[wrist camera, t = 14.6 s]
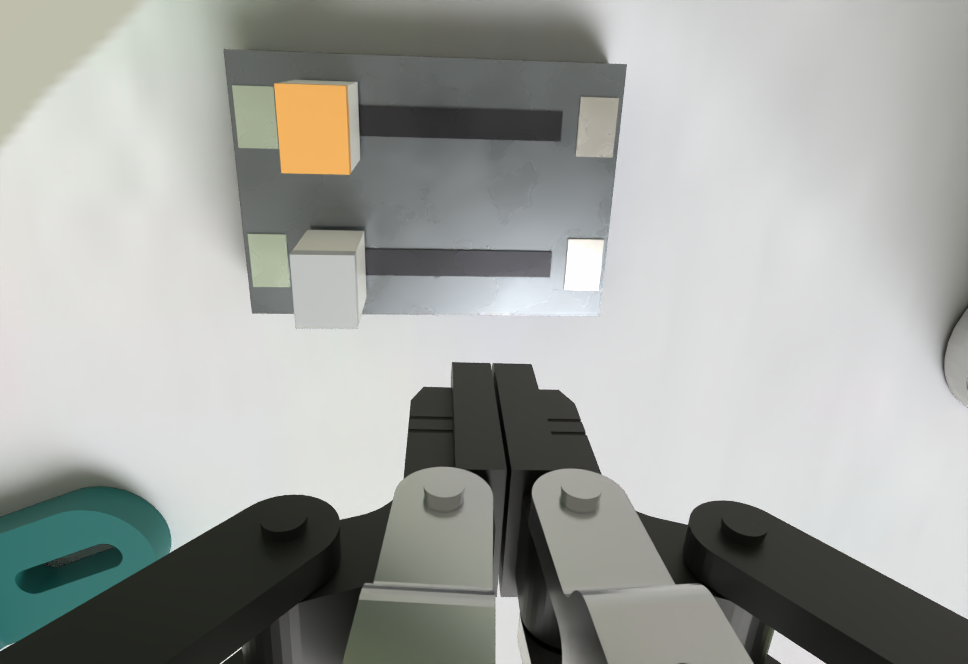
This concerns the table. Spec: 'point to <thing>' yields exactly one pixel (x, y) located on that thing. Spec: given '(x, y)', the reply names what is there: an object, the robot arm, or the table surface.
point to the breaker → (328, 279)
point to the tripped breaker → (318, 126)
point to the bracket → (65, 530)
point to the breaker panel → (440, 181)
